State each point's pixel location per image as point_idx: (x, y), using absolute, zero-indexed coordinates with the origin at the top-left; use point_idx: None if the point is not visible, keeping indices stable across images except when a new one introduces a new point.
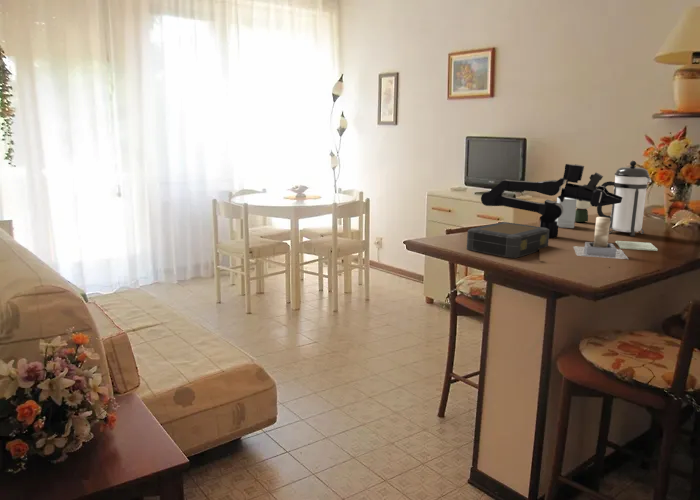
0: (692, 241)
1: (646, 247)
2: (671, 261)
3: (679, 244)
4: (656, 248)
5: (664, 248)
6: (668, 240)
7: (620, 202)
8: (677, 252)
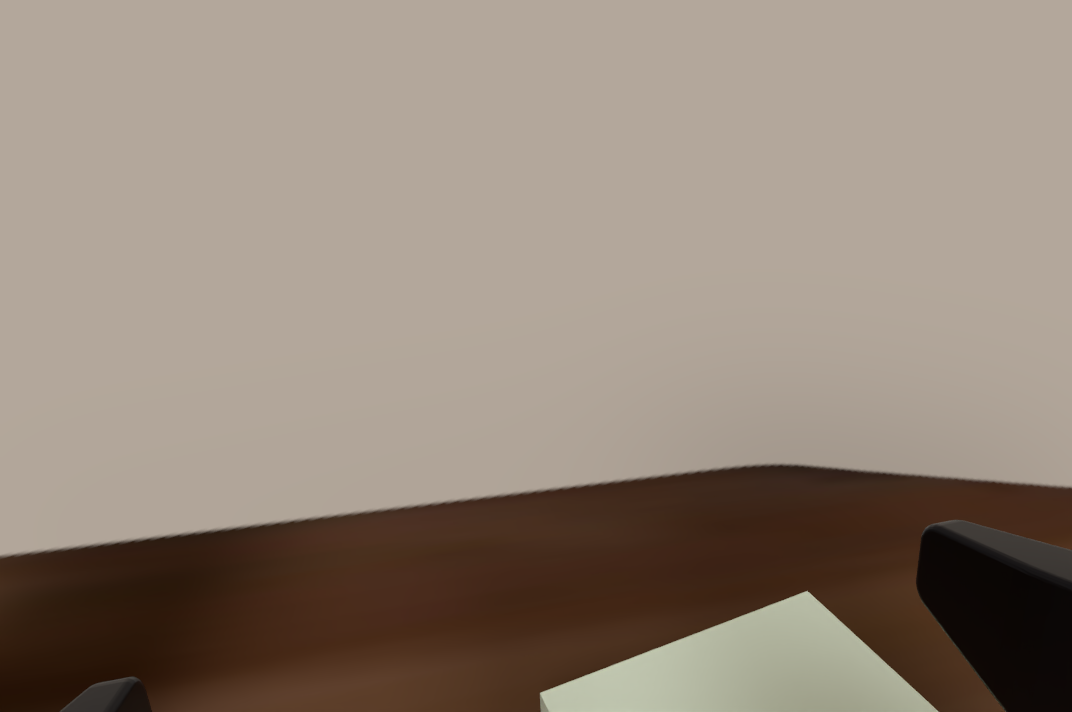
0: (81, 554)
1: (823, 666)
2: (960, 517)
3: (264, 587)
4: (780, 603)
5: (526, 625)
6: (73, 678)
7: (950, 587)
8: (619, 544)
